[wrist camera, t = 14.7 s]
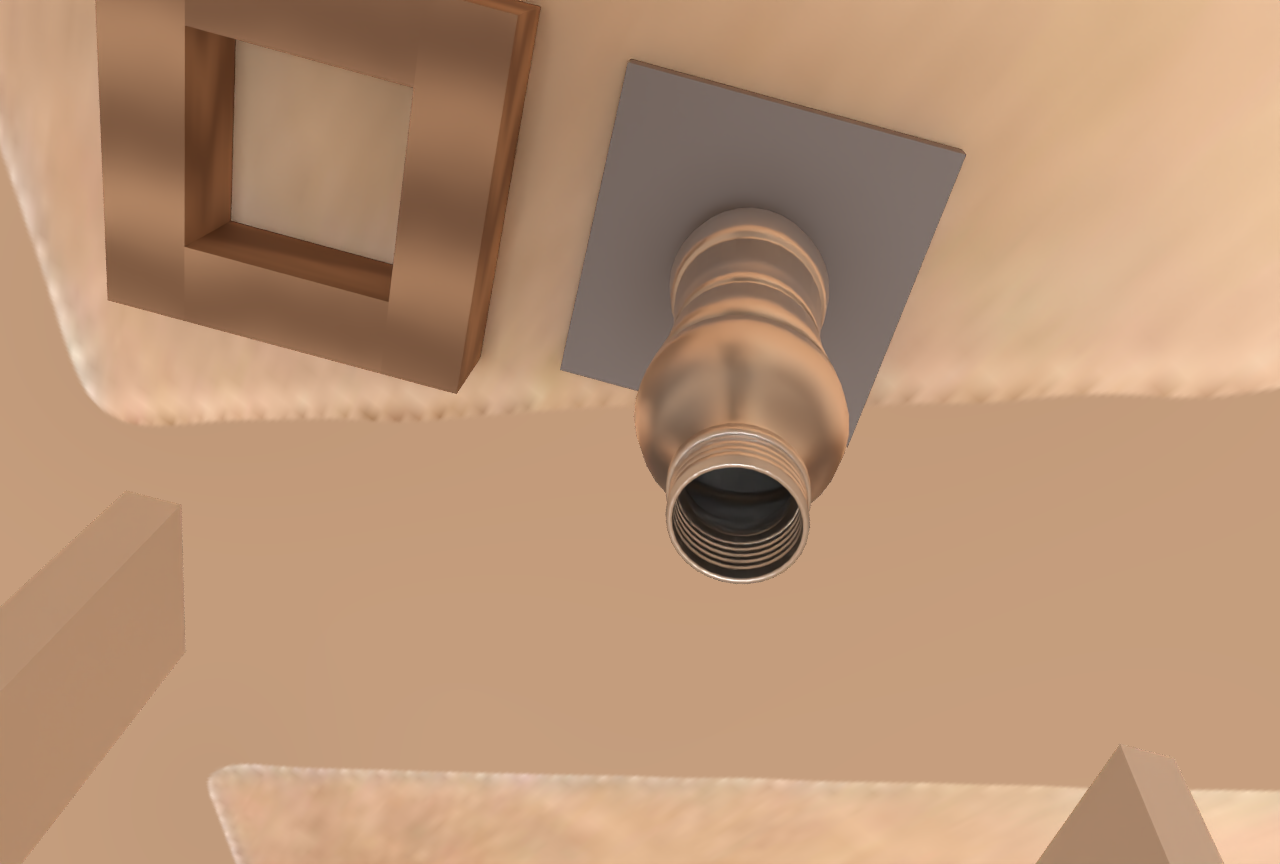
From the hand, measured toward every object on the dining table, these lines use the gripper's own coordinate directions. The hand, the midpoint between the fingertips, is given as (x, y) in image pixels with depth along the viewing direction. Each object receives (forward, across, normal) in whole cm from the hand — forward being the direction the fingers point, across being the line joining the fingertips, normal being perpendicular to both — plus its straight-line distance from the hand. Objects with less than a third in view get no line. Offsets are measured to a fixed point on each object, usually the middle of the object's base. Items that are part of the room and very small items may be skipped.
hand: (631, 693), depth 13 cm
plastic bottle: (+30, +2, -4) cm, 31 cm away
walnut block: (+31, -17, -4) cm, 35 cm away
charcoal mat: (+31, +2, -4) cm, 31 cm away
